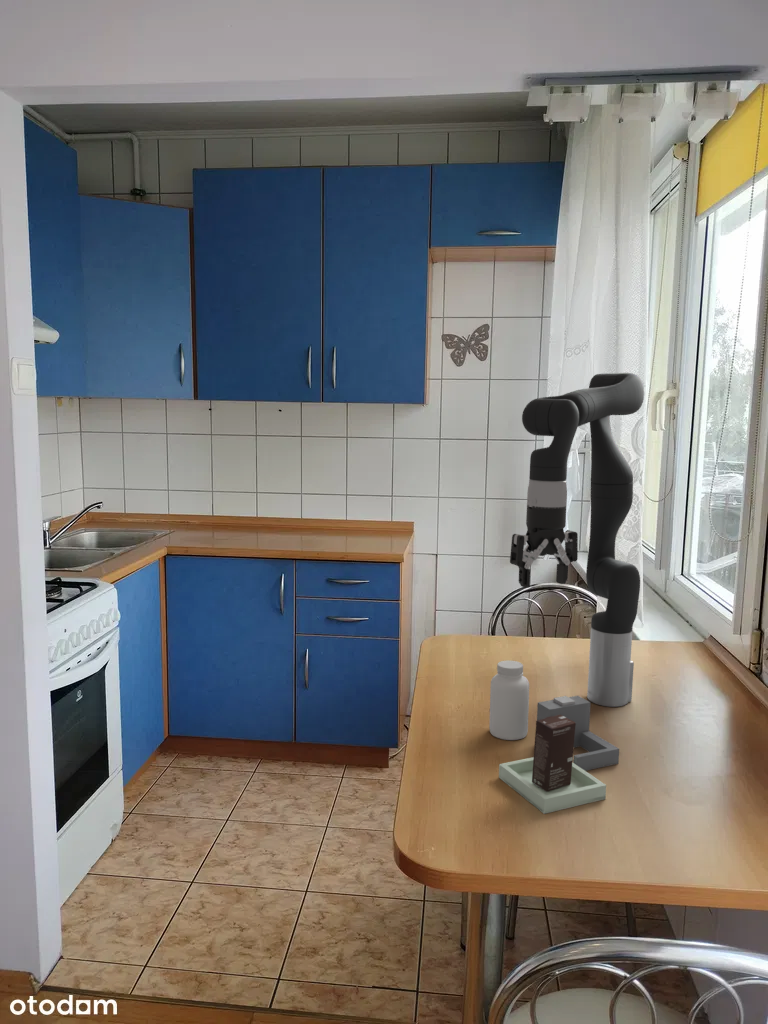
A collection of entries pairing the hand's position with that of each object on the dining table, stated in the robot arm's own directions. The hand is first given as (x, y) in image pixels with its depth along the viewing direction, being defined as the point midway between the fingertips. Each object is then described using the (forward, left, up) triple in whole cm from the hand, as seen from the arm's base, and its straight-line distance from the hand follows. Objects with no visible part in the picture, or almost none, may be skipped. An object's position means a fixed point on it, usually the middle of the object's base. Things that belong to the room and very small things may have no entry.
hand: (542, 585), depth 155 cm
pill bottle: (+2, -7, -33) cm, 34 cm away
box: (+8, +16, -33) cm, 37 cm away
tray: (+8, +16, -33) cm, 38 cm away
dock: (-5, +7, -33) cm, 34 cm away
